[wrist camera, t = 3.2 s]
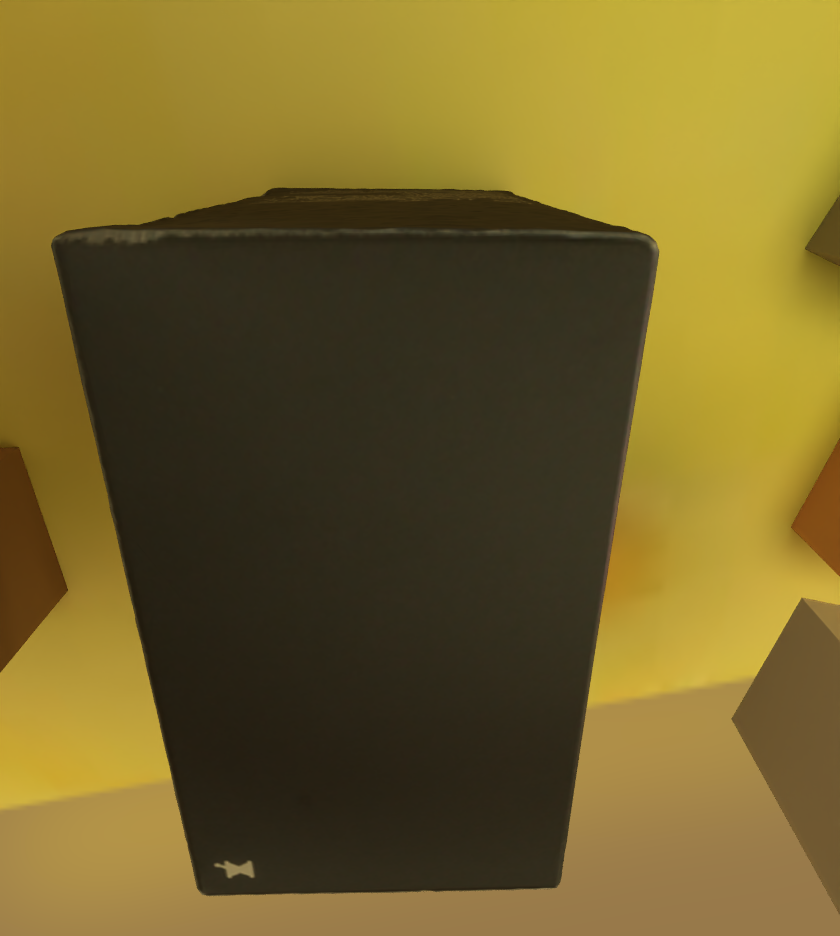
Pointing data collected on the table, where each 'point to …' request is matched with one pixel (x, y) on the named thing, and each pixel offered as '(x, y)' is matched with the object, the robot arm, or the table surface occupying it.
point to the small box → (365, 518)
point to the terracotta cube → (823, 514)
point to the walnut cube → (23, 558)
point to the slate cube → (828, 236)
